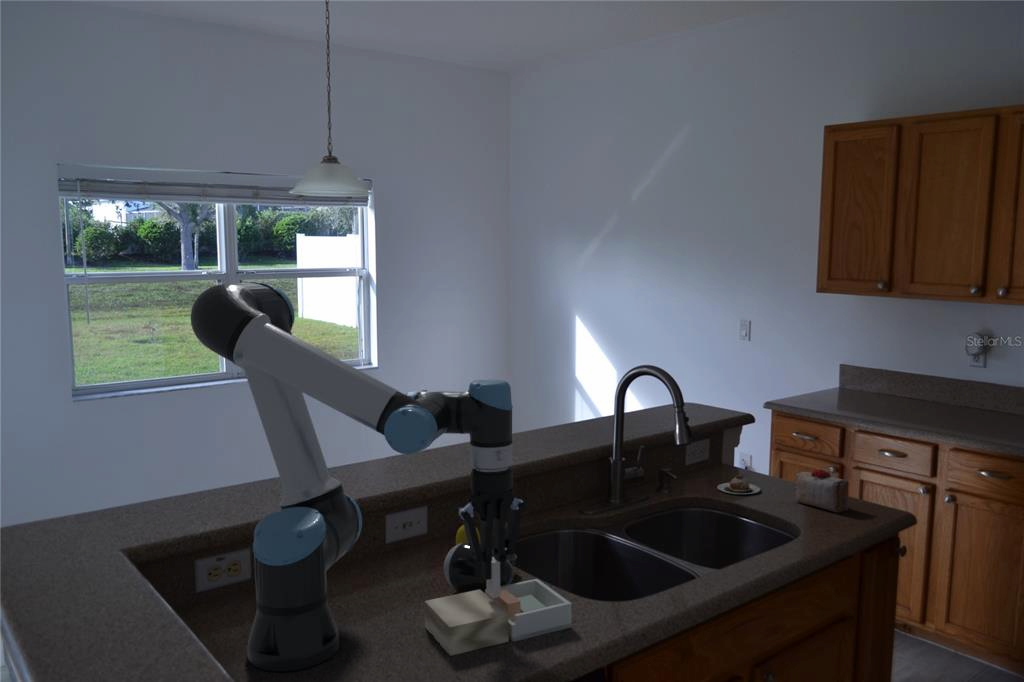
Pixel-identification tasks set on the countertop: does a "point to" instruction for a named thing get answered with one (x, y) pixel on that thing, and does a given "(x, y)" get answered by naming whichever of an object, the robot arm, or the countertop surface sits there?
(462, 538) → the lemon
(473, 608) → the cream tray box
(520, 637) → the grey bin
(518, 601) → the terracotta tile
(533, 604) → the sage tile
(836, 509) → the food item
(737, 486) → the pastry
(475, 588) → the glossy black oval shape
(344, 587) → the countertop surface
